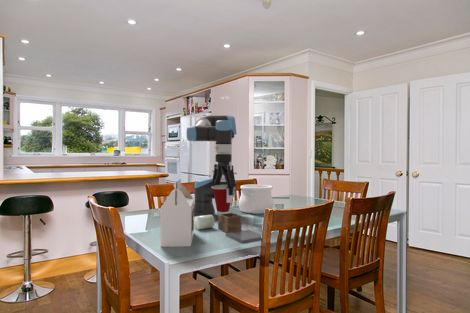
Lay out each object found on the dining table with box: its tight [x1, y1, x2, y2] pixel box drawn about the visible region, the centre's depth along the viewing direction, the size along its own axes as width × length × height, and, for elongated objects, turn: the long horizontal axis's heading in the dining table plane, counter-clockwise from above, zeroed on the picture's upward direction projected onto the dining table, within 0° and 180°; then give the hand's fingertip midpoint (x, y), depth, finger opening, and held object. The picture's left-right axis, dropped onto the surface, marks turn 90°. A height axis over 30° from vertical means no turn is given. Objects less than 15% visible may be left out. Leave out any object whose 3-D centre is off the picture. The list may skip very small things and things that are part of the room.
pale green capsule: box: [194, 215, 215, 231], centre depth 168 cm, size 9×7×7 cm
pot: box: [238, 183, 275, 215], centre depth 217 cm, size 26×24×18 cm
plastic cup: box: [211, 185, 232, 213], centre depth 146 cm, size 11×11×12 cm
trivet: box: [225, 229, 262, 244], centre depth 152 cm, size 14×14×1 cm
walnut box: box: [217, 212, 243, 234], centre depth 165 cm, size 9×9×8 cm
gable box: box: [160, 178, 195, 248], centre depth 147 cm, size 22×13×28 cm, turn 4°
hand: (223, 200), depth 146 cm, fingers closed on plastic cup, 11 cm apart
